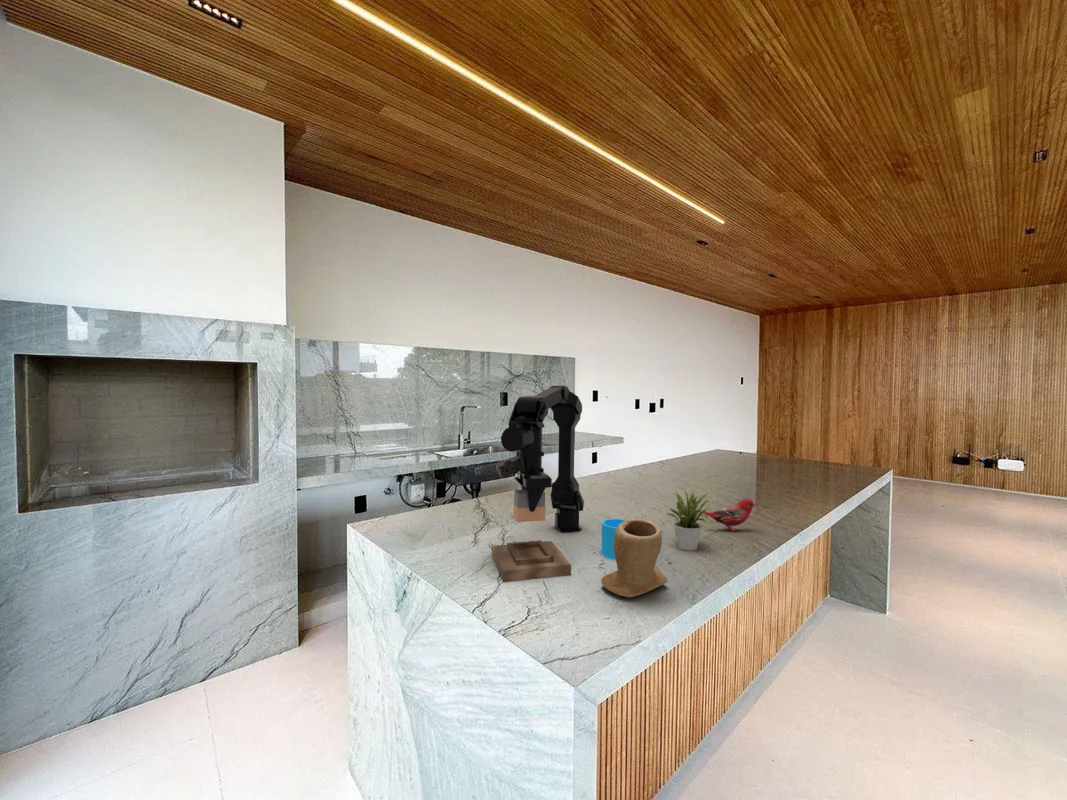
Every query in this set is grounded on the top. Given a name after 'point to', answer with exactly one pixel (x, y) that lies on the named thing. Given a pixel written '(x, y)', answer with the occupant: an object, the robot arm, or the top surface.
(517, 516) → the block
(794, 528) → the top surface
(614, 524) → the mug
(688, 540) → the house plant
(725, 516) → the decorative bird figurine
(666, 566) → the top surface
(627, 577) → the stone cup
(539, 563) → the walnut cradle stand
